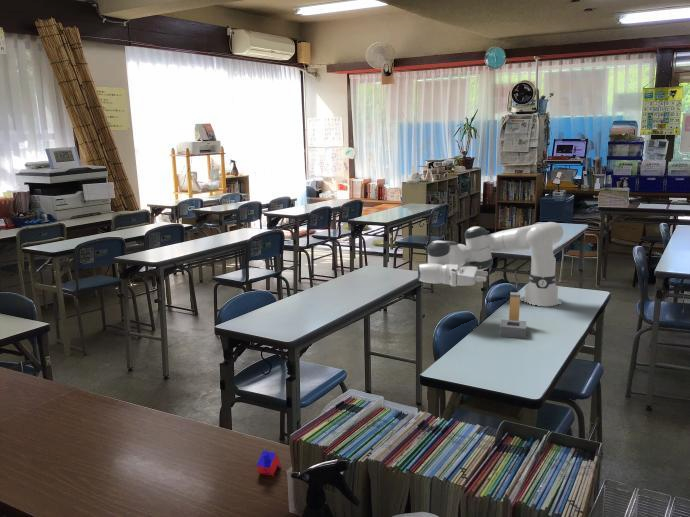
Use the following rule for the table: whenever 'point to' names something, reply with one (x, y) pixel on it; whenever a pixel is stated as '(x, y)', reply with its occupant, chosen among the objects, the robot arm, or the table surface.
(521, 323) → the grey square block
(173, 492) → the table surface
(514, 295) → the plug
